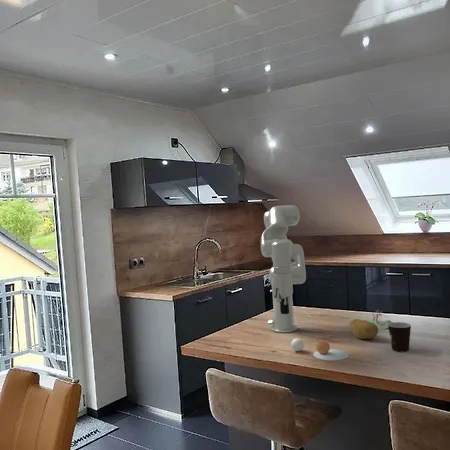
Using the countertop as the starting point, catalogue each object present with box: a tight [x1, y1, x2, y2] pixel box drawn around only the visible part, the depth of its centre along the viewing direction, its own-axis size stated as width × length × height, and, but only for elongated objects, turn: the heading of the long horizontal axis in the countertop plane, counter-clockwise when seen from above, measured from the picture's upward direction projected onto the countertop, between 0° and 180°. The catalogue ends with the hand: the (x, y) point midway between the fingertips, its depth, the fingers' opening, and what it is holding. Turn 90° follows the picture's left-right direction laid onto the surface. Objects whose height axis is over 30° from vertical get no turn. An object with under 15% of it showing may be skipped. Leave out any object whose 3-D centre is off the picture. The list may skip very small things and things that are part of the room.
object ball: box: [315, 339, 331, 354], centre depth 193 cm, size 5×5×5 cm
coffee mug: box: [387, 321, 412, 353], centre depth 193 cm, size 12×9×10 cm
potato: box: [349, 318, 379, 340], centre depth 210 cm, size 10×14×8 cm
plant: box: [354, 310, 394, 331], centre depth 235 cm, size 25×21×9 cm
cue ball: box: [290, 337, 305, 352], centre depth 198 cm, size 5×5×5 cm
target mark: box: [313, 348, 350, 362], centre depth 191 cm, size 14×14×1 cm
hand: (284, 313), depth 202 cm, fingers closed
